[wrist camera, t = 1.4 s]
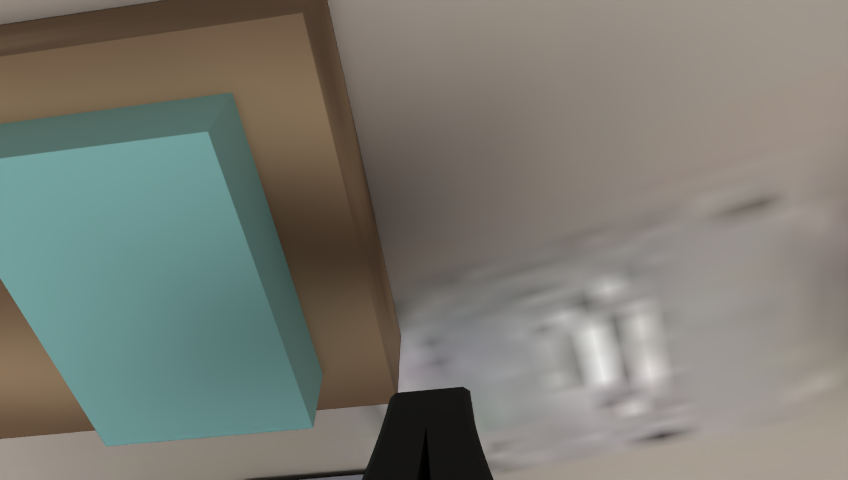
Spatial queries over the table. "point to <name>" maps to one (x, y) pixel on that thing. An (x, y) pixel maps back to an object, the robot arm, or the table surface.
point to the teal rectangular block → (155, 271)
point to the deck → (272, 152)
